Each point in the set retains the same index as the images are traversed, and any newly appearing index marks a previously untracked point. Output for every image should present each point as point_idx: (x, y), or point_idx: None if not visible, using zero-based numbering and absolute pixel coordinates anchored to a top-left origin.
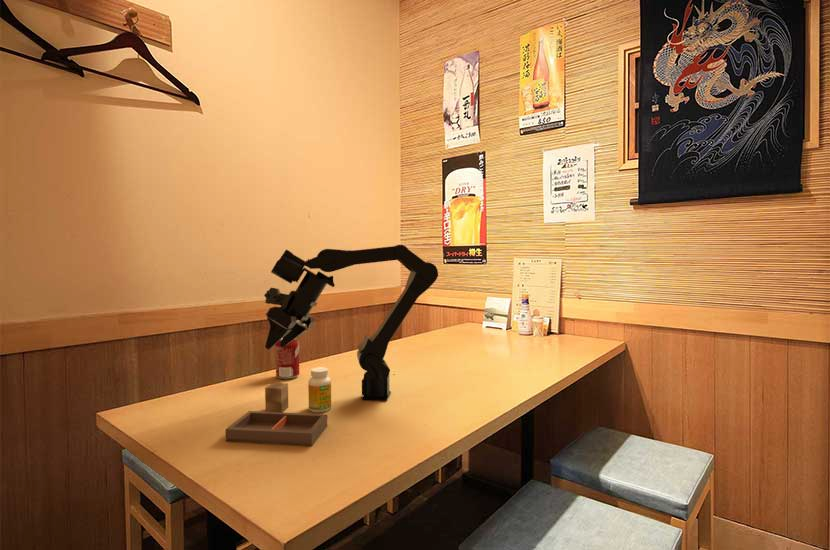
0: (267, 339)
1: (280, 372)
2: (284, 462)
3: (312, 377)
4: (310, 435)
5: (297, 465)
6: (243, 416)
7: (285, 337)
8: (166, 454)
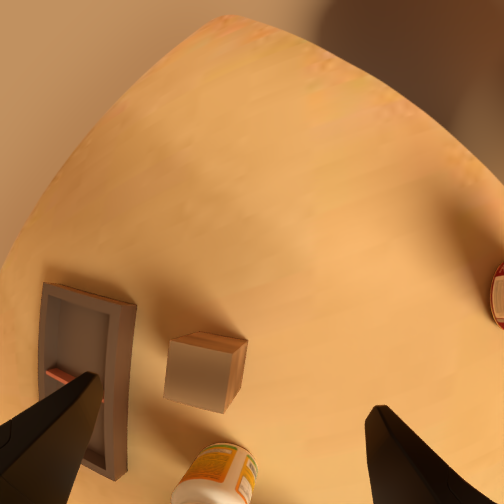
0: (43, 401)
1: (501, 281)
2: (21, 391)
3: (190, 500)
4: None
5: (19, 407)
6: (91, 300)
7: (395, 467)
8: (41, 204)
